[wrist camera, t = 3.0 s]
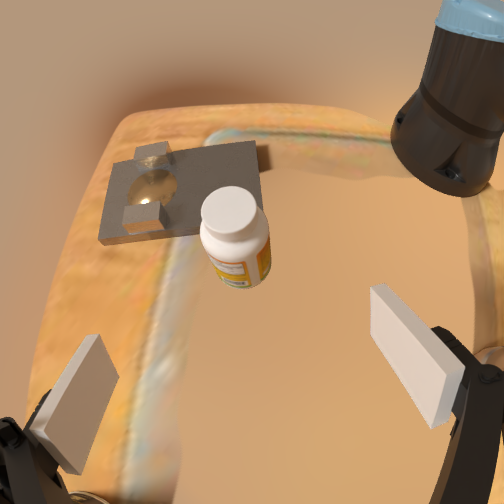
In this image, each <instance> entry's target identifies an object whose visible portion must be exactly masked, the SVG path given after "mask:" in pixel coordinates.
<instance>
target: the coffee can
mask: <svg viewBox="0 0 504 504" xmlns="http://www.w3.org/2000/svg"><path fill="white" fill-rule="evenodd" d="M69 495H70V498H71V500H72V502H73V504H110V503H108V502H107V501H105V500H104V499H102V498H100V497H98V496H96V495H93V494H90V493H87V492H81V491H76V492H70V493H69Z"/></svg>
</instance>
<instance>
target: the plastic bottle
mask: <svg viewBox="0 0 504 504" xmlns="http://www.w3.org/2000/svg"><path fill="white" fill-rule="evenodd" d="M474 357H475V358H476V359H477V360H478V361H479V362H480V363H481V364H492V365H495V366H497V367H499V368H500V369H501V370H502V371H504V346H497V347H490V348H486V349H484V350H481V351H480V352H478V353H477V354H476V355H474Z"/></svg>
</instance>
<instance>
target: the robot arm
mask: <svg viewBox="0 0 504 504" xmlns="http://www.w3.org/2000/svg"><path fill="white" fill-rule="evenodd" d="M435 24H436V27H435V31H434V35H433V39H432V43H431V47H430V51H429V55H428V58H427V62H426V65H425V69H424V72H423V76H422V79H421V82H420V85H419V88H418V89H417V90H416V92H415V93H414V94H413V95H412V96H411V97H410V99H409V100H408V101H407V102H406V103H405V105H404V106H403V107H402V108H401V109H400V110H399V112H398V114H397V115H396V117H395V120H394V123H393V126H392V129H391V143H392V146H393V149H394V151H395V153H396V155H397V157H398V158H399V160H400V161H401V162H402V164H403V165H404V166H405V167H406V168H407V169H408V170H409V171H410V172H411V173H412V174H413V175H414V176H415V177H416V178H418V179H419V180H420V181H421V182H423V183H424V184H426V185H428V186H429V187H431V188H433V189H435V190H437V191H439V192H442V193H444V194H447V195H451V196H456V197H469V196H473V195H475V194H477V193H479V192H480V191H481V190H482V189H483V188H484V187H485V185H486V184H487V182H488V181H489V180H490V178H491V176H492V173H493V170H494V166H495V161H496V156H497V151H498V146H499V141H500V137H501V136H502V134H503V132H504V2H503V1H500V0H443V1H442V5H441V8H440V11H439V15H438V17H437V18H436V19H435ZM370 303H371V320H370V335H371V337H372V338H373V340H374V341H375V343H376V344H377V346H378V347H379V349H380V350H381V352H382V353H383V355H384V356H385V358H386V359H387V361H388V363H389V364H390V366H391V367H392V368H393V370H394V372H395V373H396V375H397V376H398V378H399V379H400V381H401V383H402V384H403V386H404V387H405V389H406V390H407V392H408V393H409V395H410V397H411V398H412V400H413V401H414V403H415V405H416V406H417V408H418V409H419V411H420V413H421V414H422V416H423V417H424V419H425V420H426V422H427V424H428V426H429V427H430V429H433V428H435V427H437V426H439V425H442V424H444V423H446V422H448V420H449V417H450V414H451V412H453V413H454V415H455V417H456V421H455V424H454V426H453V428H452V431H451V433H450V435H451V439H450V443H449V446H448V450H447V453H446V457H445V460H444V463H443V466H442V469H441V472H440V476H439V478H438V481H437V484H436V487H435V489H434V492H433V495H432V497H431V500H430V502H429V504H488V500H489V496H490V492H491V487H492V483H493V478H494V474H495V468H496V463H497V457H498V451H499V444H500V437H501V429H502V436H503V444H504V371H502V370H501V369H500V368H499V367H497V366H495V365H492V364H481V363H480V362H479V361H478V360H477V359H476V358H475V357H474V356H473V355H472V353H470V351H469V350H468V349H467V348H466V347H465V346H464V345H462V343H461V342H460V341H459V340H458V339H457V340H456V337H455V336H454V335H452V333H450V331H448V330H446V329H444V328H442V327H440V326H437V327H434V328H431V329H430V328H429V327H428V326H427V325H426V324H425V323H424V322H423V321H422V320H421V319H420V318H419V317H418V316H417V315H416V314H415V313H414V312H413V311H412V310H411V309H410V308H409V307H408V306H407V305H406V304H405V303H404V302H403V301H402V300H401V299H400V298H399V297H398V296H397V295H396V294H395V293H394V292H393V291H392V290H391V289H390V288H389V287H388V286H387V285H386V284H385V283H384V284H379V285H375V286H371V287H370ZM118 379H119V375H118V373H117V371H116V369H115V367H114V365H113V363H112V361H111V359H110V356H109V354H108V352H107V350H106V348H105V346H104V343H103V341H102V339H101V337H100V334H92V335H87V336H86V337H85V339H84V340H83V342H82V343H81V345H80V346H79V348H78V349H77V351H76V352H75V354H74V355H73V357H72V358H71V360H70V361H69V363H68V364H67V366H66V368H65V369H64V371H63V372H62V374H61V376H60V377H59V379H58V380H57V382H56V384H55V385H54V387H53V389H50V390H49V391H48V392H47V393H46V394H45V395H44V396H43V397H42V399H41V400H40V402H39V405H37V407H36V409H35V412H33V414H32V415H31V417H30V419H29V421H28V422H27V424H26V426H25V428H24V429H23V431H22V429H21V428H20V427H19V426H18V424H17V423H16V422H15V420H14V419H13V418H11V417H4V418H1V419H0V504H73V502H72V500H71V498H70V495H69V493H68V491H67V489H66V486H65V484H64V482H63V479H62V477H61V475H60V474H59V472H58V471H57V468H58V466H59V465H60V466H61V467H62V469H63V470H64V471H65V472H66V473H69V474H75V475H82V472H83V469H84V466H85V463H86V460H87V458H88V455H89V452H90V449H91V447H92V444H93V441H94V439H95V436H96V433H97V431H98V428H99V425H100V423H101V420H102V418H103V415H104V413H105V410H106V408H107V405H108V403H109V400H110V398H111V395H112V393H113V390H114V388H115V386H116V383H117V381H118Z"/></svg>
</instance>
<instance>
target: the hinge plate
mask: <svg viewBox="0 0 504 504" xmlns="http://www.w3.org/2000/svg"><path fill="white" fill-rule="evenodd" d="M227 186H236V187H241V188H244V189H246V190H247V191H249V192H250V193H251V194H252V195H253V197H254V198H255V200H256V203H257V206H258V207H259V208H260V209H261V210H262V211H263V204H262V195H261V186H260V177H259V169H258V160H257V151H256V143H255V140H254V141H245V142H236V143H228V144H221V145H213V146H206V147H199V148H193V149H186V150H180V151H174V152H172V151H171V148H170V146H169V143H168V141H165V142H160V143H155V144H150V145H145V146H140V147H136V150H135V155H134V159H132V160H127V161H123V162H118V163H114V164H113V168H112V172H111V176H110V180H109V185H108V189H107V194H106V198H105V203H104V208H103V213H102V218H101V224H100V230H99V235H98V240H99V241H100V242H101V243H102V244H103V245H104V246H106V245H114V244H121V243H129V242H137V241H145V240H153V239H161V238H170V237H178V236H187V235H195V234H200V226H201V222H202V217H201V208H202V205H203V202H204V201H205V199H206V198H207V197H208V196H209V195H210V194H211V193H212V192H214V191H215V190H217V189H220V188H222V187H227Z"/></svg>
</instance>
